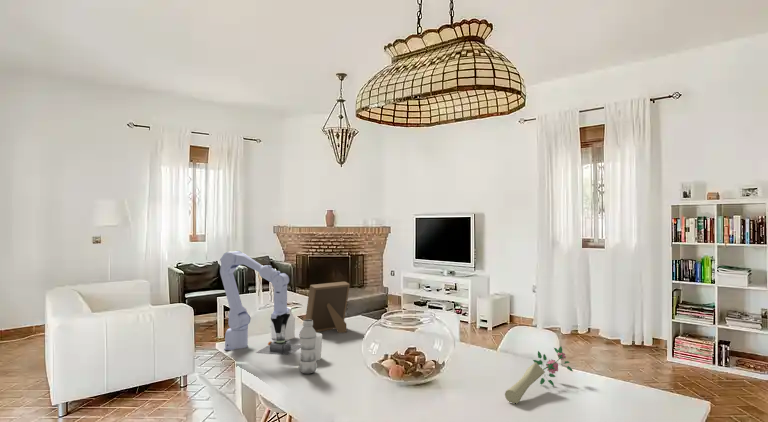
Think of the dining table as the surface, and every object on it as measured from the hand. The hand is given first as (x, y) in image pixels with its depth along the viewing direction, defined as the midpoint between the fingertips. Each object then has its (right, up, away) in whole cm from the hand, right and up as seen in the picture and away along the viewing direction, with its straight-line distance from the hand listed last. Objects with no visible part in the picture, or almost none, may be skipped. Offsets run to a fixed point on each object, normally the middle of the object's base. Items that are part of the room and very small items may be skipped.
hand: (280, 331), depth 215 cm
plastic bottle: (+17, -9, -30) cm, 35 cm away
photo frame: (+18, -9, +37) cm, 42 cm away
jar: (-3, -9, +21) cm, 23 cm away
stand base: (0, -9, 0) cm, 9 cm away
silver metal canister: (0, -5, 0) cm, 5 cm away
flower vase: (+99, -9, -48) cm, 110 cm away
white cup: (+16, -9, -11) cm, 21 cm away
